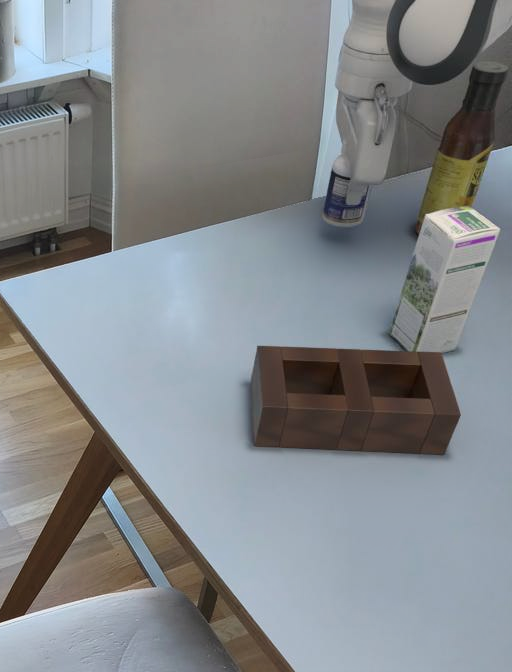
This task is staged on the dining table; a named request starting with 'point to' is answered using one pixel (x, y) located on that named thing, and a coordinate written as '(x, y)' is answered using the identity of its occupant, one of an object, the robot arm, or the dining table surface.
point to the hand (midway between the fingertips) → (348, 190)
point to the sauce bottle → (465, 144)
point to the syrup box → (443, 279)
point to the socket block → (352, 400)
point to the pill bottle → (343, 196)
